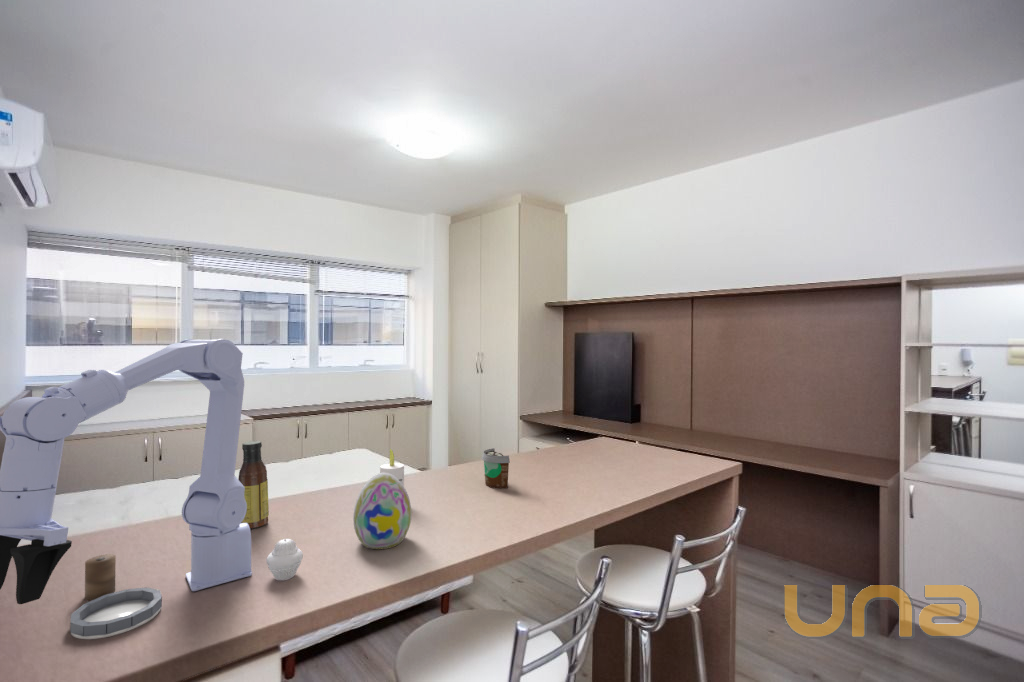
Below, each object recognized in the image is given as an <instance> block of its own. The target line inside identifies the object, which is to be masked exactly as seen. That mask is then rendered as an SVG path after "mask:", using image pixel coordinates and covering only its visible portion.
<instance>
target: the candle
mask: <svg viewBox="0 0 1024 682" xmlns="http://www.w3.org/2000/svg"><path fill="white" fill-rule="evenodd" d="M379 471H380V472H379V473H389V474H391V475H393V476H395V477H396V478H397V479H398V480H399V481H400V482H401V483H402V485H403V486H404V487H405V464H404V463H399V462H395V455H394V451H393V449H392V448H390V449H389V463H384V464H381V465H380V466H379Z"/></svg>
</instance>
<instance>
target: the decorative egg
mask: <svg viewBox="0 0 1024 682" xmlns="http://www.w3.org/2000/svg"><path fill="white" fill-rule="evenodd" d="M352 522H353V529H354V532H355V534H356V536H357V539H358V540H359V542H360V543H361V544H362V546H364V547H366V548H368V549H372V550H385V549H391V548H393V547H396V546H398V545H399V544H401V543H402V541H403V540H404V539H405V537H406V536H407V534H408V532H409V531H410V530H409V529H410V526H411V522H412V505H411V500H410V496H409V494H408V491H407V490H406V488H405V485H404V486H403V485H402V483H401V482H400V481H399V480H398V479H397V478H396V477H395V476H393V475H391V474H389V473H380V472H379V473H377V474H374V475H373V476H372V477H371V478H370V479H369V480H367V482H366V483H365V484H364V486H363V487H362V488H361V489H360V492H359V493H358V496H357V498H356V502H355V505H354V510H353V521H352Z"/></svg>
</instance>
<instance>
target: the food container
mask: <svg viewBox="0 0 1024 682" xmlns="http://www.w3.org/2000/svg"><path fill="white" fill-rule="evenodd" d="M495 448H496V447H495ZM495 448H487V449H485V450H483V453H482V455H481V460H482V461H483V467H484V481H485V482H484V483H485V484H484V485H485V486H486V487H488V488H491V489H508V488H509V487H508V486H509V468H510V467H509V466H510V465H509V464H510V463H511V462H510V455H503V453H502V452H497V451H495Z"/></svg>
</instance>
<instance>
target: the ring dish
mask: <svg viewBox="0 0 1024 682" xmlns="http://www.w3.org/2000/svg"><path fill="white" fill-rule="evenodd" d="M162 607H163V596H162V592H161V590H160V589H157V588H153V587H152V588H151V587H135V588H134V587H133V588H126V589H122V590H119V591H118V590H117V591H115V592H114V593H110V594H106V595H104V596H101V597H99V598H97V599H94V600H89V601H87V602H86V603H84V604H82V605H80V607H78V608H77V609H76V610H74V611H73V612H71V614H70V620H69V621H70V623H69V624H70V625H69V626H70V628H69V631H70V632H69V633H70V635H71V636H72V637H74V638H75V639H78V640H79V639H80V640H97V639H103V638H109V637H113V636H118V635H121V634H123V633H126V632H129V631H132V630H134V629H137V628H139V627H141V626H143V625H145V624H146V623H148V622H150V621H151V620H153V619H154V618H155V617H156V616H158V614H159V613H160V611H161V608H162Z"/></svg>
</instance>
